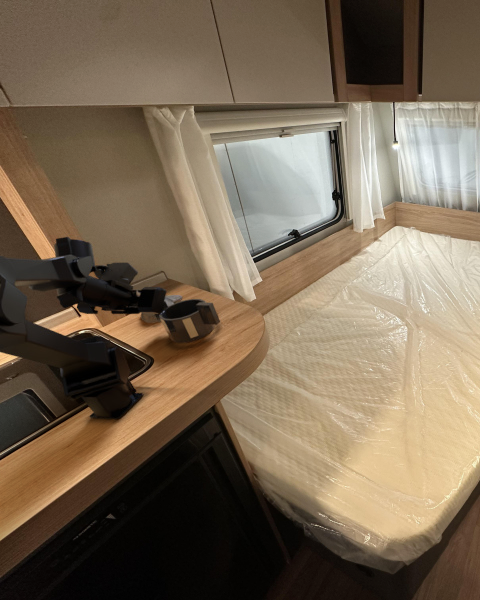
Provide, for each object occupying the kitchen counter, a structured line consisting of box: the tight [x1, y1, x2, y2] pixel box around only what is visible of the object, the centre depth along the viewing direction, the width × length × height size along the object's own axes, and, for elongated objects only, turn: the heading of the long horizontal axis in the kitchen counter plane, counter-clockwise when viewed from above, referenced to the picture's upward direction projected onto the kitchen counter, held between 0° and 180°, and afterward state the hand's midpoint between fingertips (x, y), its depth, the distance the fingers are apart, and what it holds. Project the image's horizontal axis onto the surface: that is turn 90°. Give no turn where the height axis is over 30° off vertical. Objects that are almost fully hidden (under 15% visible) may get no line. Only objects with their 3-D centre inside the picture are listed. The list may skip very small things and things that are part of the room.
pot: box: [155, 298, 221, 344], centre depth 84 cm, size 11×18×9 cm, turn 82°
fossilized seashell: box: [140, 294, 184, 324], centre depth 96 cm, size 11×11×7 cm
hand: (149, 308), depth 83 cm, fingers closed, pressing on pot
